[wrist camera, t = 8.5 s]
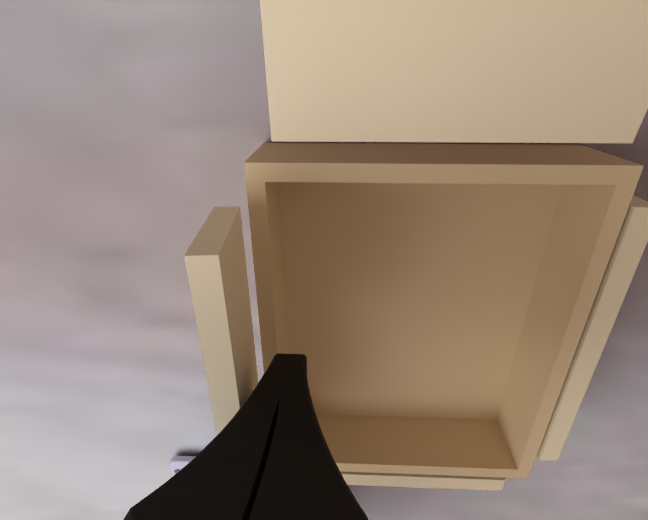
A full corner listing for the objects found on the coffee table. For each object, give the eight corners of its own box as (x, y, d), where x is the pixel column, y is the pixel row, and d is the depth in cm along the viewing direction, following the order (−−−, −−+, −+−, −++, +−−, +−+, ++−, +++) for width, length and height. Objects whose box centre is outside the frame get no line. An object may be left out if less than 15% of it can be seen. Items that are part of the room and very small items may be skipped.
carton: (516, 432, 22) (544, 492, 18) (283, 424, 22) (274, 482, 19) (608, 144, 14) (679, 165, 11) (264, 142, 15) (244, 162, 12)
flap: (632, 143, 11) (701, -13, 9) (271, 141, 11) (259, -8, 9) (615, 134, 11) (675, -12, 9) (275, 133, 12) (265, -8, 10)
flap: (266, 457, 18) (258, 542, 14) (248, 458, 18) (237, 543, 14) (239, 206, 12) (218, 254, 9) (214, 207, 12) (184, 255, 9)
